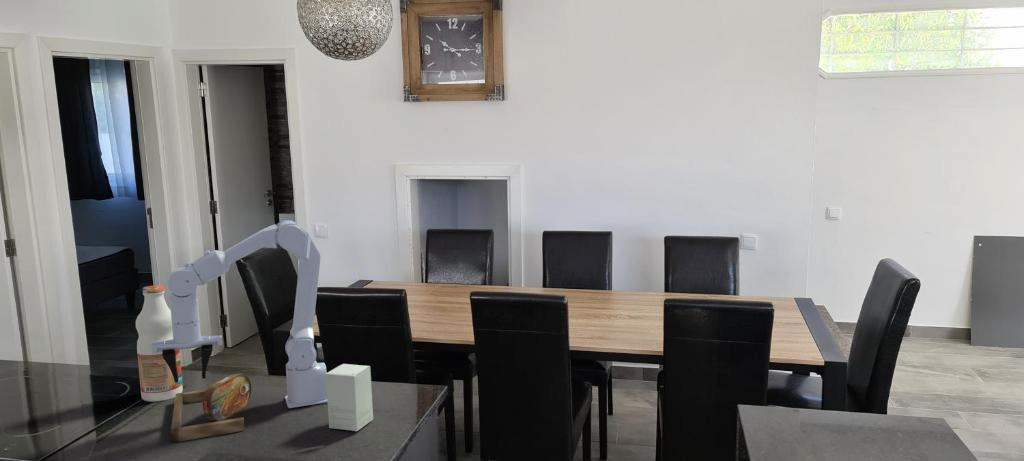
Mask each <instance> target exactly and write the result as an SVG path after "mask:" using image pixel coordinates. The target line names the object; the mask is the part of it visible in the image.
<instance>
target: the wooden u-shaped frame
mask: <svg viewBox="0 0 1024 461" xmlns="http://www.w3.org/2000/svg"><path fill="white" fill-rule="evenodd" d="M207 389H208V388H205V389H200V390H193V391H192V390H191V391H187V392H184V391H183V392H182V393H177V394H176V396H175V397H174V404H173V411H172V420H171V428H170V438H171V439H170V441H171V442H170V443H171V444H172V443H173V444H174V443H177V442H178V443H180V442H185V441H189V440H190V441H192V440H195V439H202V438H209V437H213V436H214V437H215V436H221V435H225V434H226V435H227V434H233V433H238V432H243V431H245V430H246V429H245V419H244V416H243V417H236V418H229V419H225V420H223V421H218V420H216V421H212V422H206V423H198V424H193V425H188V426H187V425H186V426H182V421H183V420H182V418H183V409H184V405H185V404H191V403H197V402H198V403H199V402H202V401H203V396H204V394H205V392H206V390H207Z"/></svg>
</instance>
